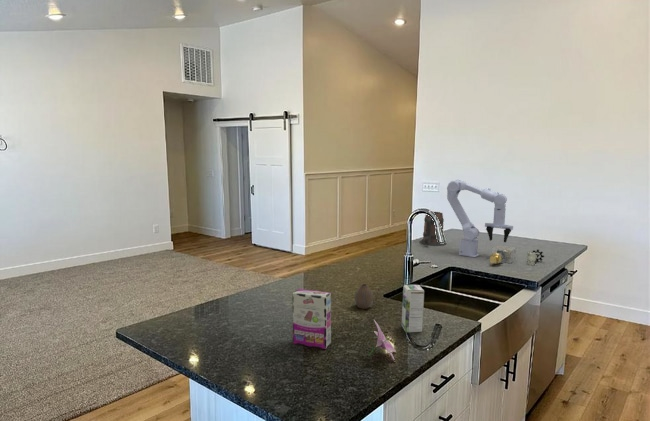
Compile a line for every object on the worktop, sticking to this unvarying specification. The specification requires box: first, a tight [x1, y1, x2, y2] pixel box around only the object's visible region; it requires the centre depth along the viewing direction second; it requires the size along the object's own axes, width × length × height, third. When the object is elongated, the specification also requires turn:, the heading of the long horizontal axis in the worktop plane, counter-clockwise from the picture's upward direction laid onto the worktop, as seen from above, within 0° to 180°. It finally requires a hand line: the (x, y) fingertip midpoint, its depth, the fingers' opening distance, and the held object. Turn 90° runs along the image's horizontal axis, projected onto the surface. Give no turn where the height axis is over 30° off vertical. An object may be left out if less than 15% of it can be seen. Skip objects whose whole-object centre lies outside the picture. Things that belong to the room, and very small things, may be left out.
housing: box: [491, 244, 517, 264], centre depth 233 cm, size 10×8×7 cm
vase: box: [354, 283, 374, 310], centre depth 163 cm, size 7×7×9 cm
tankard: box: [419, 211, 447, 247], centre depth 271 cm, size 24×17×20 cm
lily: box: [368, 319, 397, 361], centre depth 124 cm, size 12×12×10 cm
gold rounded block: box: [489, 252, 504, 265], centre depth 225 cm, size 6×11×6 cm, turn 140°
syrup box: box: [401, 284, 425, 333], centre depth 143 cm, size 6×6×14 cm
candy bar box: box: [292, 288, 332, 350], centre depth 132 cm, size 11×5×16 cm, turn 69°
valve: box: [526, 249, 545, 266], centre depth 228 cm, size 7×7×12 cm
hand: (497, 241), depth 235 cm, fingers open, 7 cm apart
